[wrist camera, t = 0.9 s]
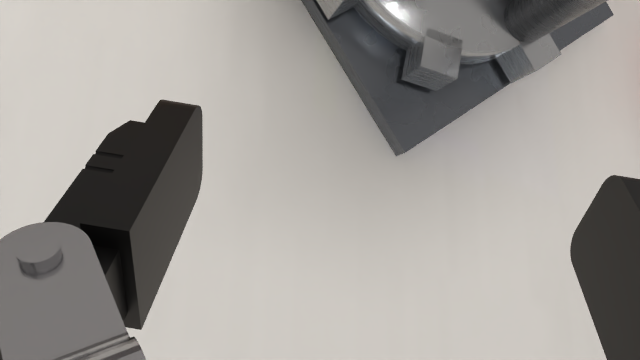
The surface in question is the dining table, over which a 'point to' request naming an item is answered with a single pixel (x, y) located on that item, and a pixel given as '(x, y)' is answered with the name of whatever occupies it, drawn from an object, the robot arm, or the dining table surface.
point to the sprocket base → (410, 99)
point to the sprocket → (466, 33)
